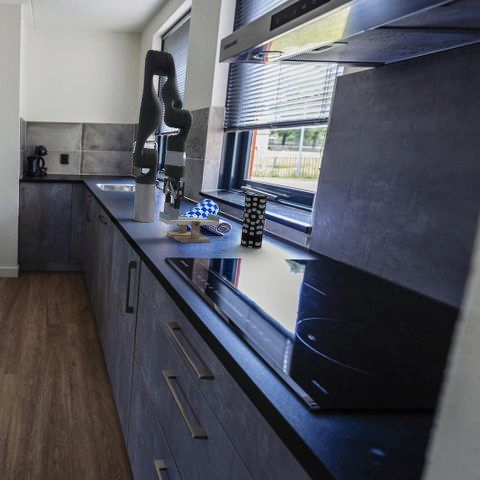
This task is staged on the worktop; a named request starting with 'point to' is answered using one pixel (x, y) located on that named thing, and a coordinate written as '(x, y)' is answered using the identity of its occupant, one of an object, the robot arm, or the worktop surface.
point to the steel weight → (171, 210)
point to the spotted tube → (253, 220)
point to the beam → (189, 220)
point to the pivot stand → (189, 233)
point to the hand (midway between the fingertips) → (172, 207)
